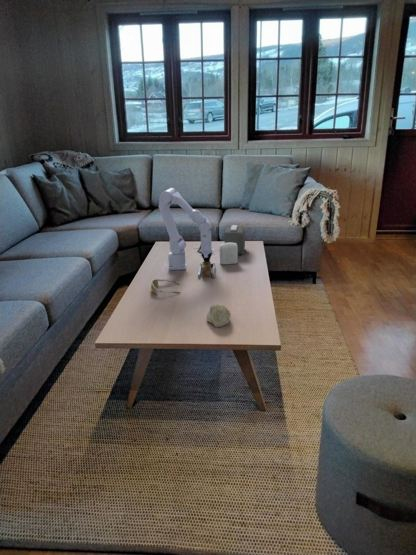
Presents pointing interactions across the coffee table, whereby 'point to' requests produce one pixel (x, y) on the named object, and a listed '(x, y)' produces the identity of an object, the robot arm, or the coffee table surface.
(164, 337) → the coffee table surface
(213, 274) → the channel
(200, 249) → the eiffel tower figurine
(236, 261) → the photo printer
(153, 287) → the sunglasses
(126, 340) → the coffee table surface
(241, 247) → the alarm clock
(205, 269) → the walnut block
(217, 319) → the decorative item
